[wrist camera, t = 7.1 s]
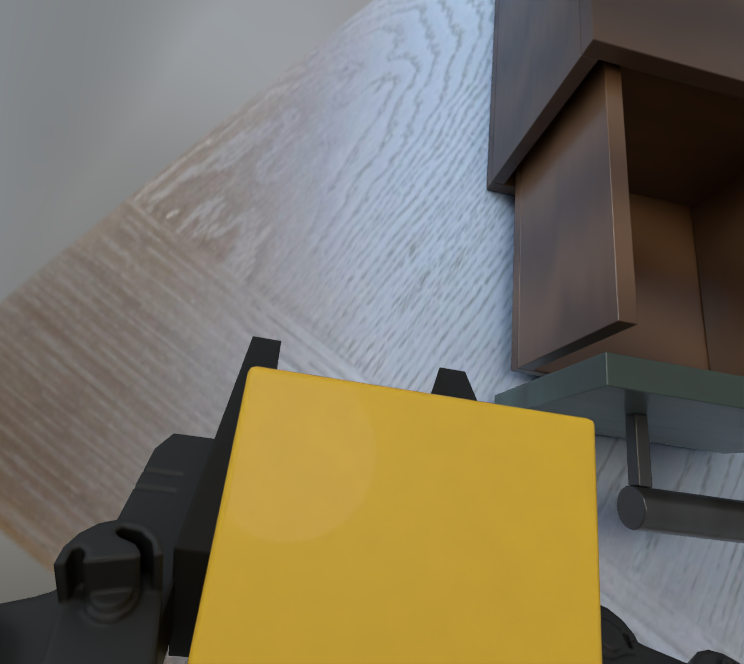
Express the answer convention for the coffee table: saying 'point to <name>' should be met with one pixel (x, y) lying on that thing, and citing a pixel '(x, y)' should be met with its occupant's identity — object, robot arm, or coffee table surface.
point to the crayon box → (401, 531)
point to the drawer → (637, 281)
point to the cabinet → (598, 42)
